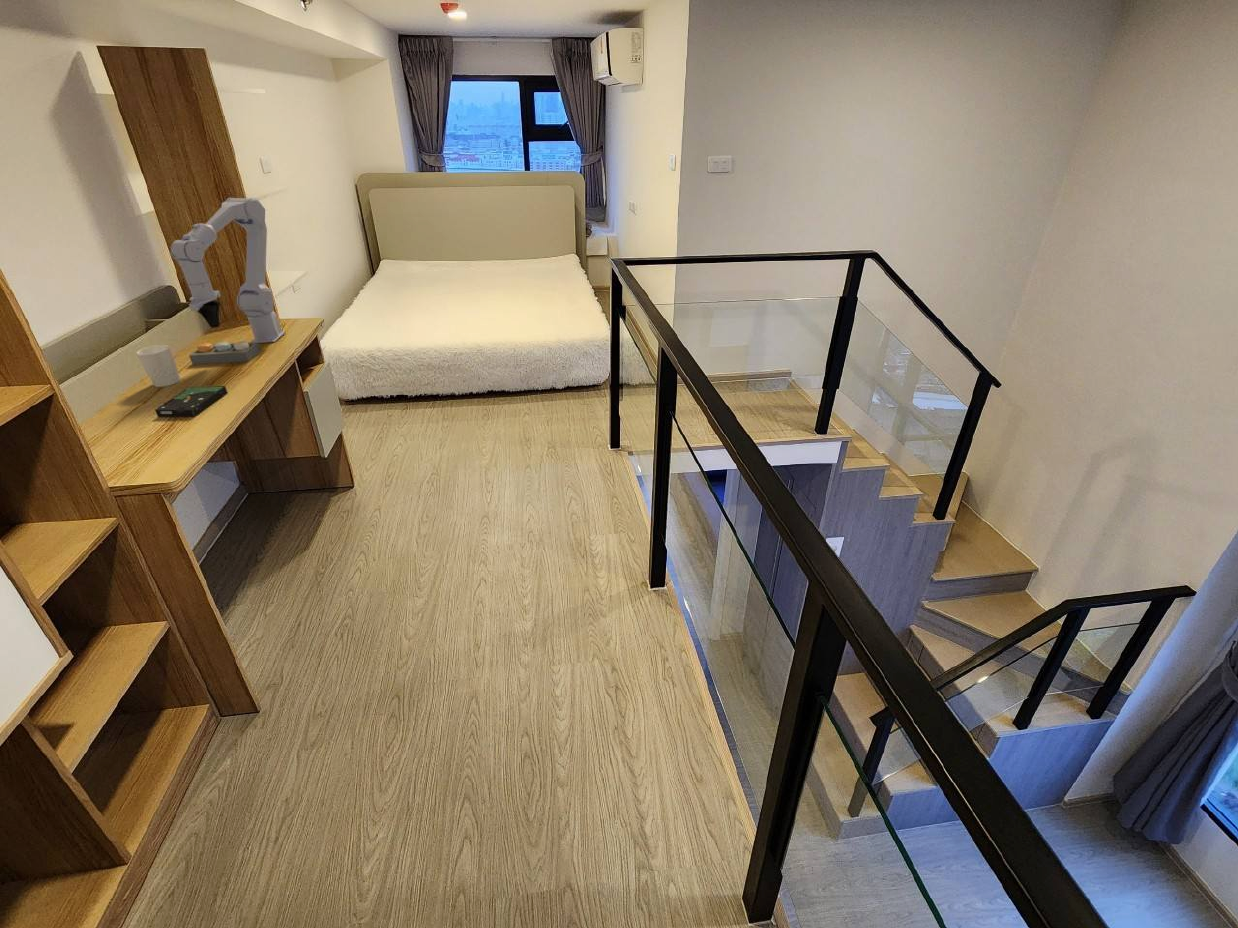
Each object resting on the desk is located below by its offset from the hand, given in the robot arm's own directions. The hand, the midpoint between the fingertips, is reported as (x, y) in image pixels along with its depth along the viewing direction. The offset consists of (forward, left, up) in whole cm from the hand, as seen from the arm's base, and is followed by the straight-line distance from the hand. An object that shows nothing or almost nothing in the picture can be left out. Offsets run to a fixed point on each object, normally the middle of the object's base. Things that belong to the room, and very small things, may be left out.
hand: (215, 326), depth 194 cm
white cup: (+18, -9, -10) cm, 23 cm away
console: (0, 0, -10) cm, 10 cm away
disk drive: (+36, +7, -11) cm, 38 cm away
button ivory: (0, +6, -8) cm, 10 cm away
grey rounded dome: (0, 0, -8) cm, 8 cm away
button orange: (0, -5, -8) cm, 10 cm away
